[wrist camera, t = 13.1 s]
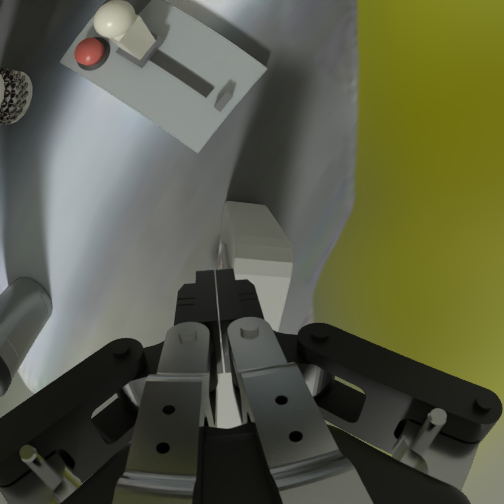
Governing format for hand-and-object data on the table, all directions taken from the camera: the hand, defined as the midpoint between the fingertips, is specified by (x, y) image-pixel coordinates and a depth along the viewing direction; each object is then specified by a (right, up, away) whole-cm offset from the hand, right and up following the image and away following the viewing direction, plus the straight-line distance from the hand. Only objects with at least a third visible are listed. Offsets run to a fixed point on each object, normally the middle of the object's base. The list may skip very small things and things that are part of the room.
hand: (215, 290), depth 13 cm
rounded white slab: (-2, -4, +36) cm, 36 cm away
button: (-19, +27, +17) cm, 37 cm away
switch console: (-11, +26, +21) cm, 35 cm away
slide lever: (-12, +27, +17) cm, 34 cm away
